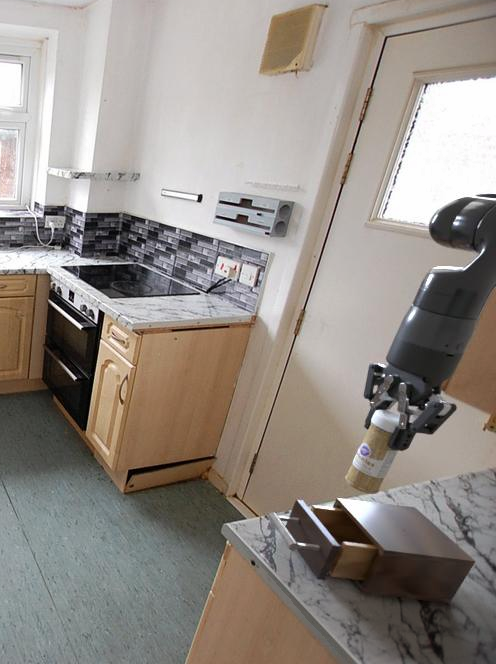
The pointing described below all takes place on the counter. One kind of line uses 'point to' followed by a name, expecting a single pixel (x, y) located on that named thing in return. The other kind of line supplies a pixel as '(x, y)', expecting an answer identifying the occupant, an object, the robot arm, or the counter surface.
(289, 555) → the counter surface
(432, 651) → the counter surface
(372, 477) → the sprinkles bottle
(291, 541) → the drawer
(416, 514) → the cabinet
